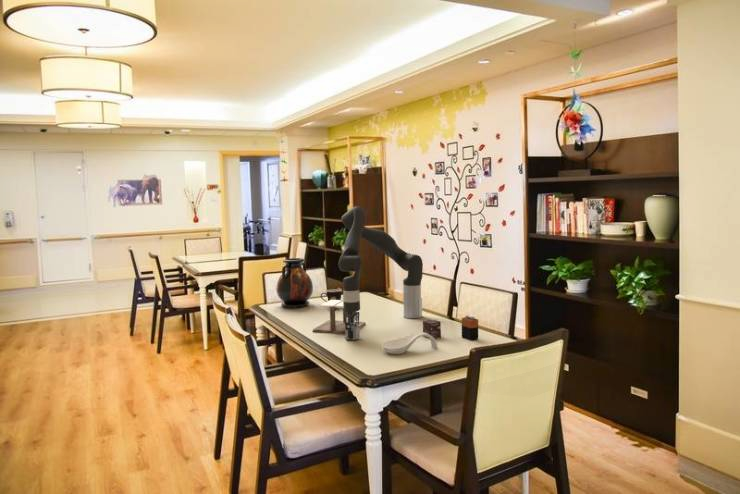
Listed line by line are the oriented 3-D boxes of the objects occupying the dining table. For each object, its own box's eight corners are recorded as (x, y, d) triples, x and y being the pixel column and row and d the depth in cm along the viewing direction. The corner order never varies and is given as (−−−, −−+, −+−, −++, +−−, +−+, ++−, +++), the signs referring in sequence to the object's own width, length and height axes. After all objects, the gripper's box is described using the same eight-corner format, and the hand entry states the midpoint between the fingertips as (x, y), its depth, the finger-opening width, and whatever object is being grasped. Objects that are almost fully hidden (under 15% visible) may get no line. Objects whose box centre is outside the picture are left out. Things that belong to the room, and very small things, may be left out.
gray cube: (359, 336, 249) (359, 326, 249) (356, 339, 245) (355, 328, 244) (349, 336, 251) (349, 325, 250) (345, 339, 246) (345, 328, 246)
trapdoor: (357, 302, 272) (357, 300, 272) (347, 308, 259) (347, 306, 259) (331, 301, 276) (330, 299, 276) (320, 307, 263) (320, 305, 263)
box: (429, 339, 244) (429, 323, 244) (422, 336, 250) (422, 320, 249) (441, 337, 247) (441, 321, 247) (433, 334, 253) (433, 319, 252)
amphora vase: (294, 301, 340) (293, 256, 338) (321, 304, 328) (319, 258, 325) (269, 307, 323) (267, 260, 320) (296, 311, 310) (294, 262, 308)
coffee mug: (344, 307, 319) (344, 290, 318) (336, 309, 312) (335, 292, 311) (328, 305, 326) (328, 288, 325) (320, 307, 318) (319, 290, 317)
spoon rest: (387, 358, 218) (387, 340, 218) (377, 350, 229) (377, 333, 229) (441, 351, 226) (441, 334, 225) (429, 344, 237) (428, 328, 236)
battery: (471, 341, 240) (471, 318, 239) (461, 337, 246) (461, 315, 245) (478, 339, 242) (478, 317, 242) (468, 336, 248) (468, 314, 247)
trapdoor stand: (365, 324, 275) (364, 299, 274) (351, 334, 256) (351, 307, 255) (328, 322, 281) (327, 298, 280) (312, 332, 262) (311, 306, 261)
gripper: (354, 303, 238) (355, 341, 240) (364, 297, 252) (365, 333, 253) (338, 302, 240) (339, 340, 242) (349, 296, 254) (350, 332, 256)
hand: (352, 336), depth 248 cm, fingers closed on gray cube, 5 cm apart
